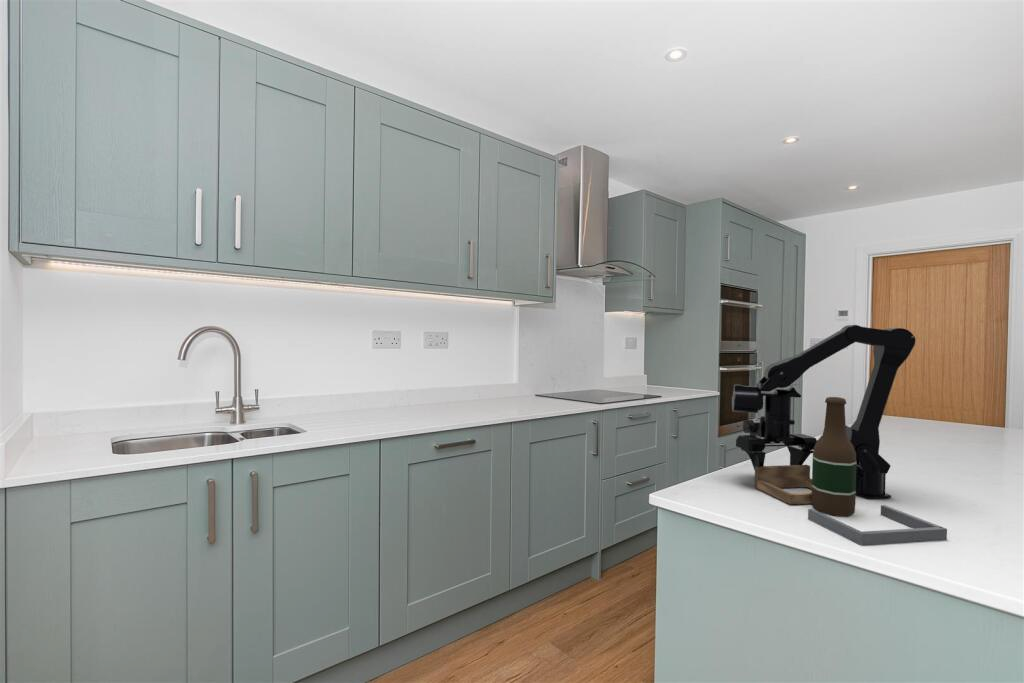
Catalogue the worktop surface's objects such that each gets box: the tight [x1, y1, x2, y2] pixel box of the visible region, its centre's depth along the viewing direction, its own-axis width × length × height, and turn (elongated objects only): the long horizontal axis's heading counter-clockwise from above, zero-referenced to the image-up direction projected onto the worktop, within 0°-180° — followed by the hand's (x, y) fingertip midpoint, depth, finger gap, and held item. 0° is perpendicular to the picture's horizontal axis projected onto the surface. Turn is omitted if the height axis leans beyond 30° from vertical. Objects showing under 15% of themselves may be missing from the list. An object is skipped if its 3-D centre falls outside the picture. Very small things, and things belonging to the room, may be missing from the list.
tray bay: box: [807, 504, 948, 546], centre depth 95 cm, size 18×12×2 cm
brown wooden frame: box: [754, 464, 812, 505], centre depth 115 cm, size 14×12×5 cm
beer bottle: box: [811, 396, 857, 518], centre depth 105 cm, size 8×8×24 cm
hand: (775, 477), depth 122 cm, fingers open, 9 cm apart
